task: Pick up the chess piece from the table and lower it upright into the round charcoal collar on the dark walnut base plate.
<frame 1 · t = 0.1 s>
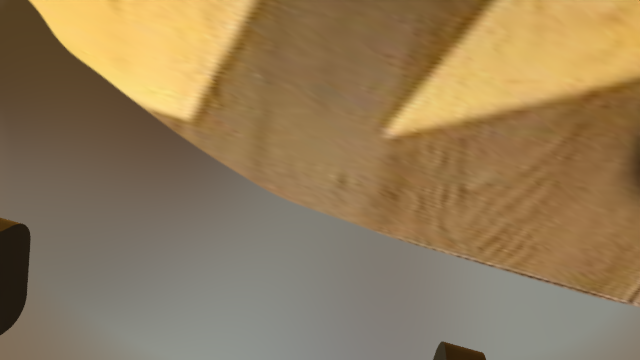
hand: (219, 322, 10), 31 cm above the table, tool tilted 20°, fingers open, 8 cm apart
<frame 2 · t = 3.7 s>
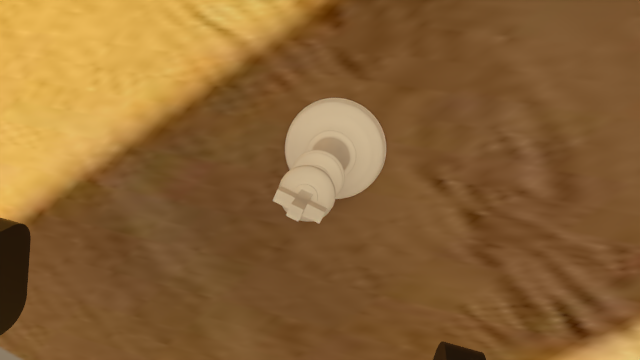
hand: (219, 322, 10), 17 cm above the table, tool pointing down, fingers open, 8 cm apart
chess piece: (336, 147, 26), on the table
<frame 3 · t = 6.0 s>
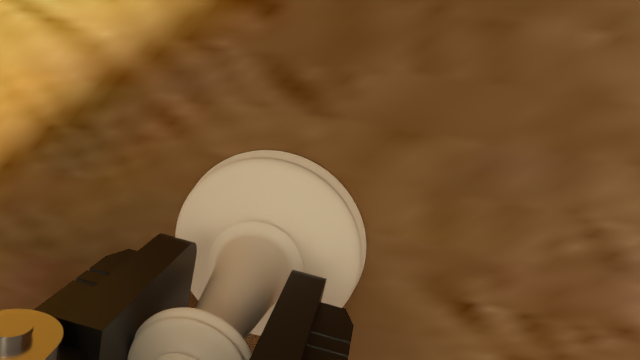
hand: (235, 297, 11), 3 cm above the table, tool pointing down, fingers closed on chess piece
chess piece: (273, 239, 14), on the table, touching gripper
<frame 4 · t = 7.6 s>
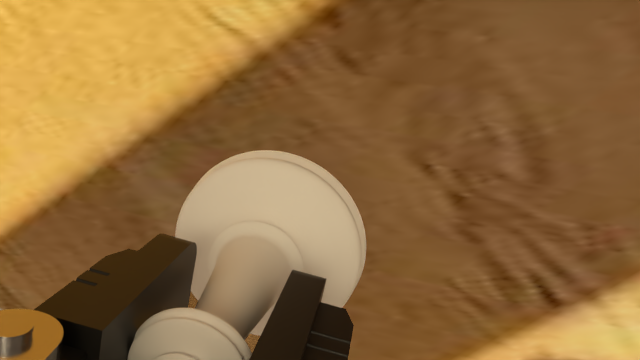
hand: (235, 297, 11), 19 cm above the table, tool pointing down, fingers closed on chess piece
chess piece: (273, 239, 14), point 15 cm above the table, touching gripper
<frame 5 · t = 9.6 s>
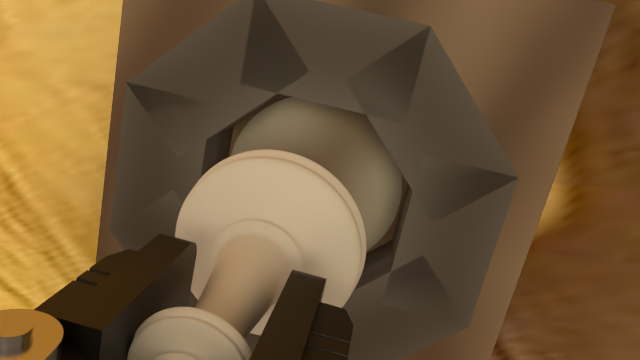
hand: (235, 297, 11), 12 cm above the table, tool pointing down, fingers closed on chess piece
chess piece: (273, 238, 14), point 8 cm above the table, touching gripper
collar socket: (319, 173, 22), on the table
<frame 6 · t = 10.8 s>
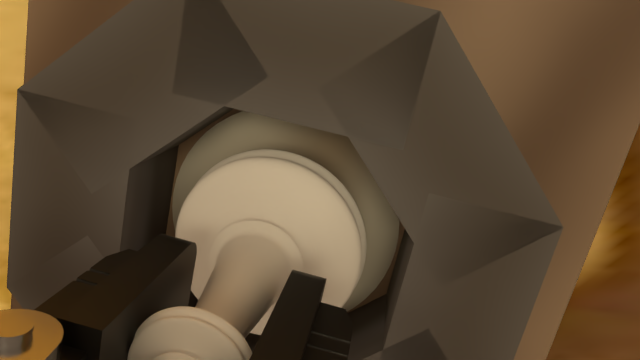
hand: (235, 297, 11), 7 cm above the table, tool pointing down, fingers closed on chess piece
chess piece: (273, 238, 14), point 3 cm above the table, touching gripper
collar socket: (293, 204, 17), on the table
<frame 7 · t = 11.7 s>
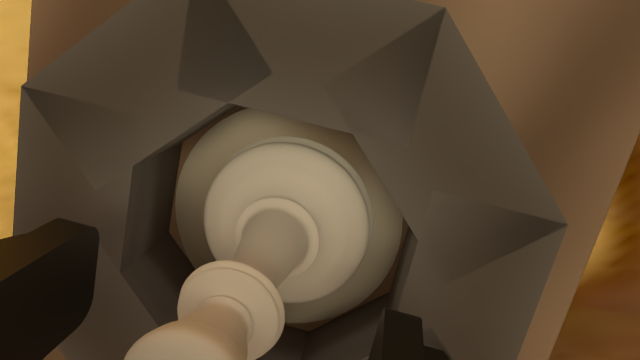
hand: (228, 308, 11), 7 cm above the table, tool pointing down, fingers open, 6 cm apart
chess piece: (290, 216, 16), point 1 cm above the table, touching collar socket
collar socket: (296, 202, 17), on the table
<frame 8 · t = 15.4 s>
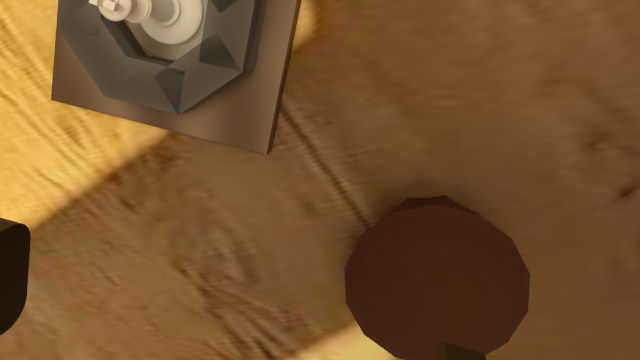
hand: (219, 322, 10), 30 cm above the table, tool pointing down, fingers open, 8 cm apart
chess piece: (174, 9, 37), point 1 cm above the table, touching collar socket
muffin: (430, 248, 41), on the table
collar socket: (181, 10, 39), on the table
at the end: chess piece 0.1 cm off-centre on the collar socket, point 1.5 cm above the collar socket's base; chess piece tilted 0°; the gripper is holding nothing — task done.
